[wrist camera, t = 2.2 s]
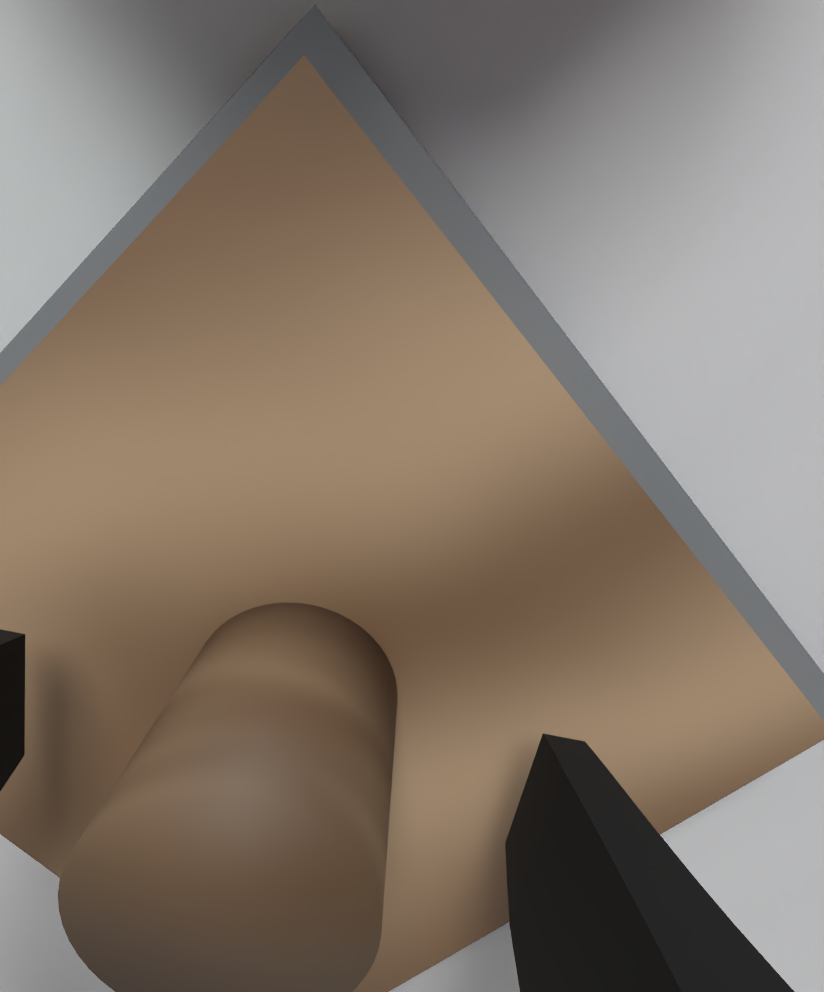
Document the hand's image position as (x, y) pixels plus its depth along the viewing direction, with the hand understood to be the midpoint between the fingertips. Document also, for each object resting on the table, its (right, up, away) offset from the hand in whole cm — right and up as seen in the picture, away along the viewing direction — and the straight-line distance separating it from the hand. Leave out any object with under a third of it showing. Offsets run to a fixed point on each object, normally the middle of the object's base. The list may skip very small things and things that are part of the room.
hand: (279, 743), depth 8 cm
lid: (0, +1, +2) cm, 2 cm away
